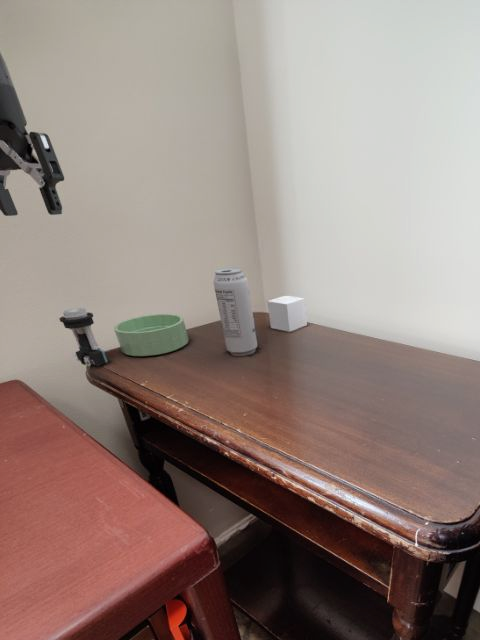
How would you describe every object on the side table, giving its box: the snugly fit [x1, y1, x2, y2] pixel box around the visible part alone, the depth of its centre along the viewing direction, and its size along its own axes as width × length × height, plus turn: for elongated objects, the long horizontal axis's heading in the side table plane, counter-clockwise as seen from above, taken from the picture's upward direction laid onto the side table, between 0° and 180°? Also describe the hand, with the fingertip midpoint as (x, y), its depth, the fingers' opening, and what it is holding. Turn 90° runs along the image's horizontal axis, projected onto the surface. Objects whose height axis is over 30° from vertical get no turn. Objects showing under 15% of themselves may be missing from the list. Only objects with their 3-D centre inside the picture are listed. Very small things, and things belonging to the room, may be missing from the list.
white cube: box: [267, 295, 308, 333], centre depth 90 cm, size 6×6×6 cm
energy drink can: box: [212, 267, 258, 357], centre depth 74 cm, size 6×6×15 cm
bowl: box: [113, 313, 190, 357], centre depth 82 cm, size 13×13×5 cm
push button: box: [59, 307, 109, 368], centre depth 73 cm, size 7×5×10 cm
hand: (33, 215), depth 65 cm, fingers open, 8 cm apart
